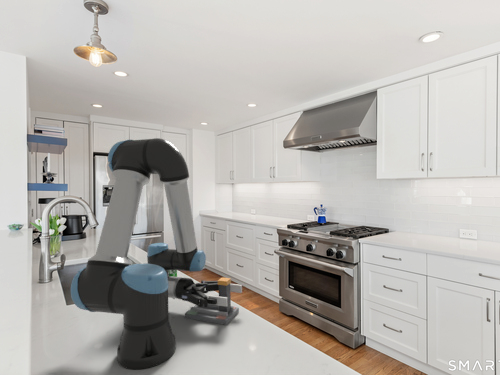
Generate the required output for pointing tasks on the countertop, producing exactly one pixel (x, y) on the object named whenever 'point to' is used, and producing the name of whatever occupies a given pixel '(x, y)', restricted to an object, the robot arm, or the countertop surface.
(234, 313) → the grey base
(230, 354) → the countertop surface
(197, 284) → the robot arm
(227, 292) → the breaker handle
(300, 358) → the countertop surface
